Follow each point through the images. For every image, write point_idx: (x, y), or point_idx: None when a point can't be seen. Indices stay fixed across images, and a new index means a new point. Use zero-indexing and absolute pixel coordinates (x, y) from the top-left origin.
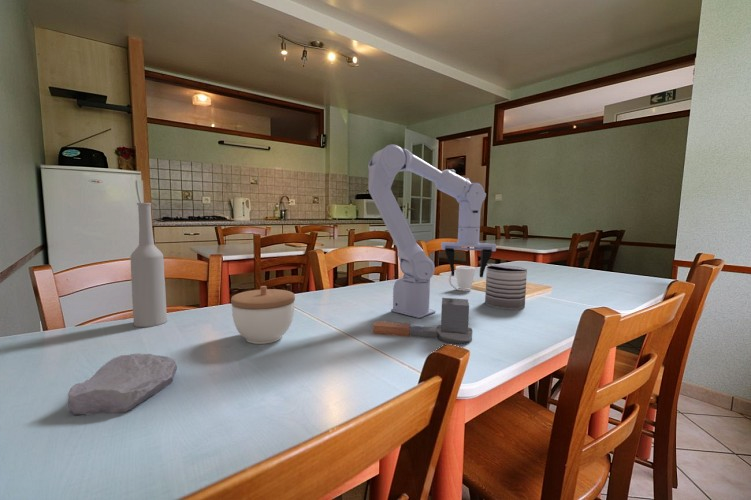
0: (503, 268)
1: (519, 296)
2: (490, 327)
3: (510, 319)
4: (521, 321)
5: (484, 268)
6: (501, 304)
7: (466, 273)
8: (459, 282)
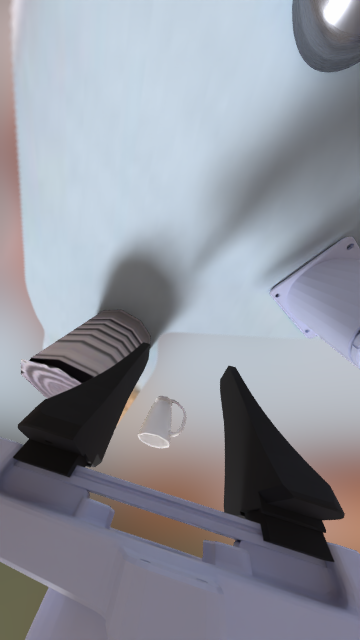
0: None
1: (87, 321)
2: (183, 161)
3: (125, 243)
4: (106, 229)
5: (123, 358)
6: (127, 318)
7: (156, 424)
8: (169, 411)
